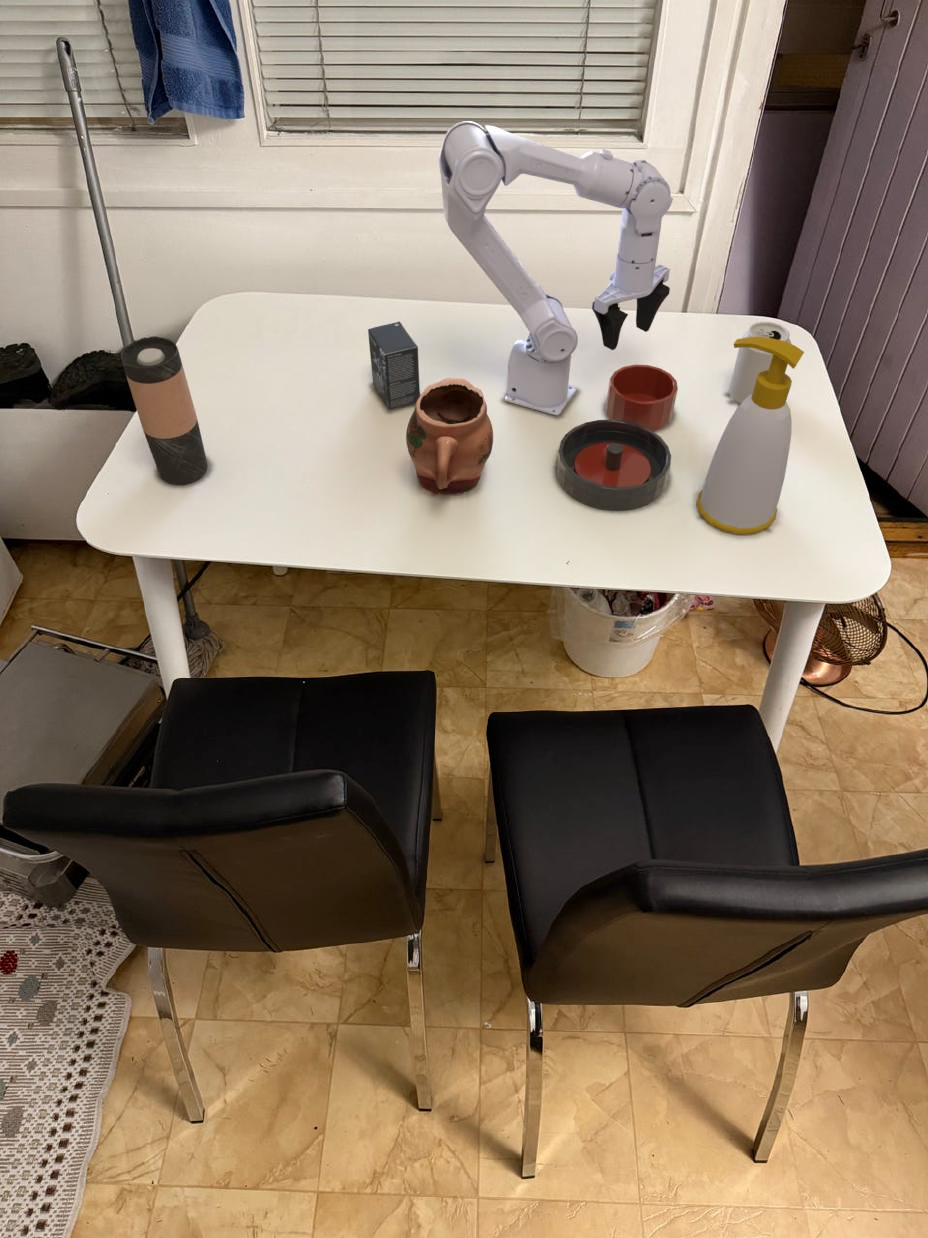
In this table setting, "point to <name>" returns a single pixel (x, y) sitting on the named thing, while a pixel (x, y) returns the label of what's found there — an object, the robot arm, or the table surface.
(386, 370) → the box
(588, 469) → the lid
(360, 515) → the table surface
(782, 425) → the soap bottle
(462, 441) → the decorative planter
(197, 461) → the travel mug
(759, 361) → the can
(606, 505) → the pan
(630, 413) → the reddish brown bowl
